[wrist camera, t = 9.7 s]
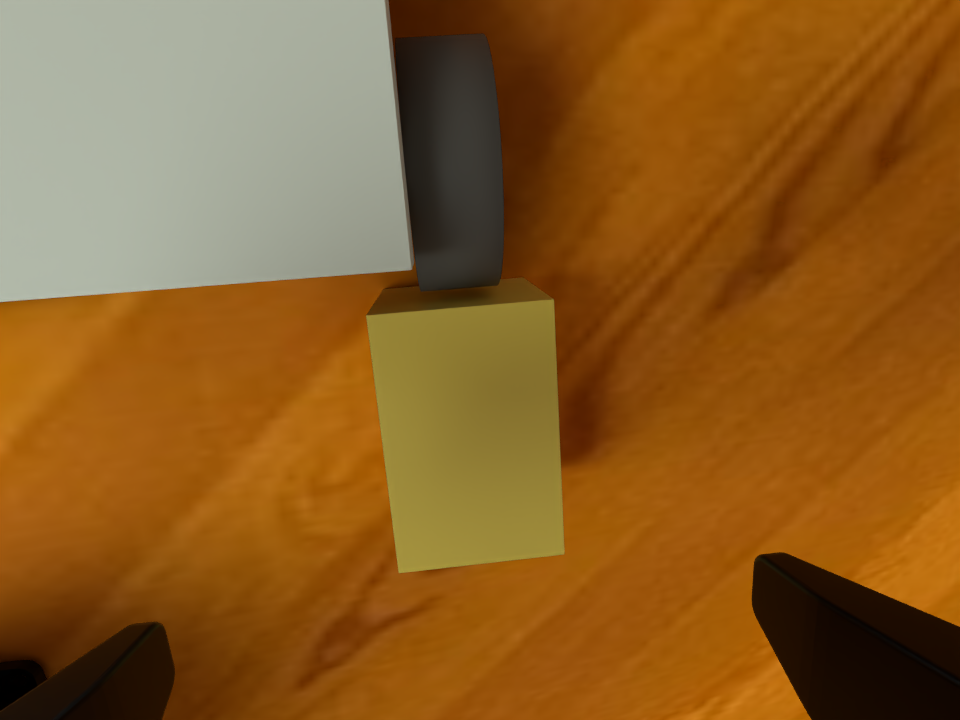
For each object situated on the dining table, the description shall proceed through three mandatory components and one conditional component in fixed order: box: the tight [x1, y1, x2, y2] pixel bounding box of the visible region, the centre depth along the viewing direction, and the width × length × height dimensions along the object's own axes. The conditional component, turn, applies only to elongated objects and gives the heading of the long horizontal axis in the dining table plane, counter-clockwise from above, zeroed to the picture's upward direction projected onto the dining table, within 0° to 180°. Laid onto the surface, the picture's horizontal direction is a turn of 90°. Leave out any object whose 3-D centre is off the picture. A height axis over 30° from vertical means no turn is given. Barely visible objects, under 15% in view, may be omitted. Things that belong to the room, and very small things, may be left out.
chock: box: [366, 277, 564, 573], centre depth 17 cm, size 7×4×5 cm, turn 4°
